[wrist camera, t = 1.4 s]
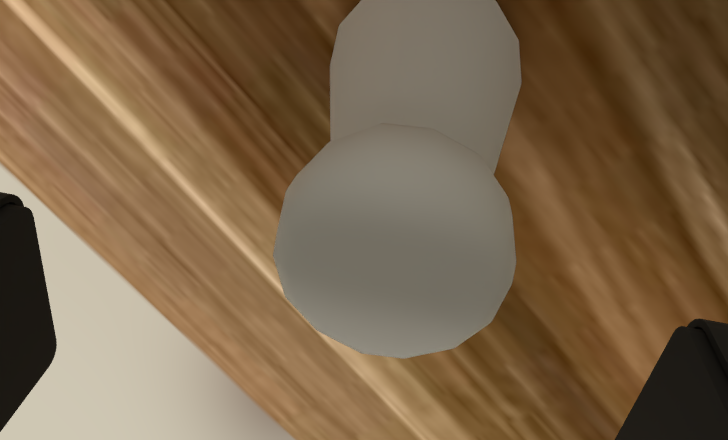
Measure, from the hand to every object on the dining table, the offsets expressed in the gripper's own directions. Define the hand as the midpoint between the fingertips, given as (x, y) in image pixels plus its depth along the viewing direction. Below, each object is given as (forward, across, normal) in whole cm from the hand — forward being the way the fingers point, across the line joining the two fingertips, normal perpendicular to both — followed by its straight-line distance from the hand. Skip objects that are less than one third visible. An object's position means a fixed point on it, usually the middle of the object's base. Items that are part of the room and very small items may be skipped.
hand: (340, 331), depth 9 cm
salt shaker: (+14, -1, 0) cm, 14 cm away
